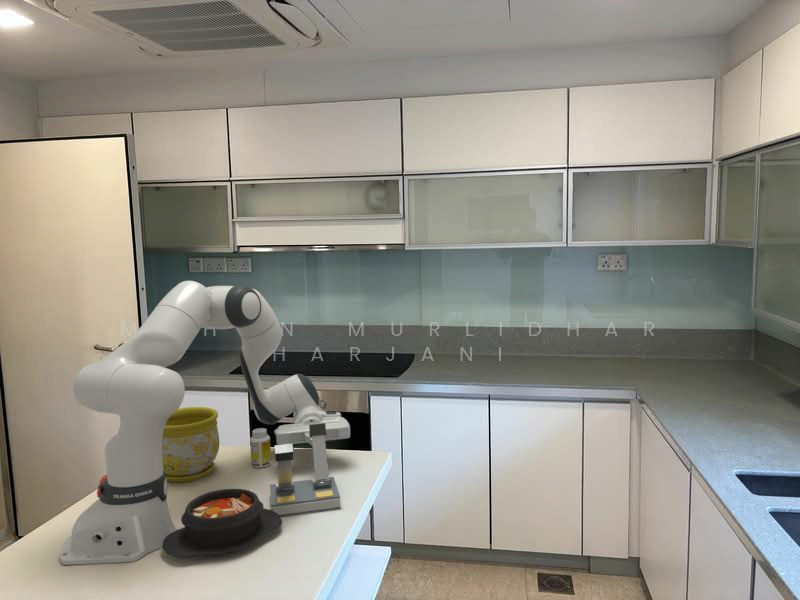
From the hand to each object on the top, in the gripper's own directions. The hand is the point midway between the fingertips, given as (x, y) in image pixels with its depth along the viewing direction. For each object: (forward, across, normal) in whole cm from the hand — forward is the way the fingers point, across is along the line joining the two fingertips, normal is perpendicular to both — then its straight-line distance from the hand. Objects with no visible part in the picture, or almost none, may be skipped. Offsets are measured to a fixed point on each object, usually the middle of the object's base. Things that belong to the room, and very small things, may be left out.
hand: (315, 441), depth 158 cm
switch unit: (+13, -4, +10) cm, 17 cm away
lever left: (+13, -9, +6) cm, 17 cm away
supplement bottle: (-15, -14, +11) cm, 24 cm away
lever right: (+13, 0, +6) cm, 14 cm away
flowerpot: (-15, -34, +11) cm, 39 cm away
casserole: (+26, -23, +11) cm, 36 cm away
